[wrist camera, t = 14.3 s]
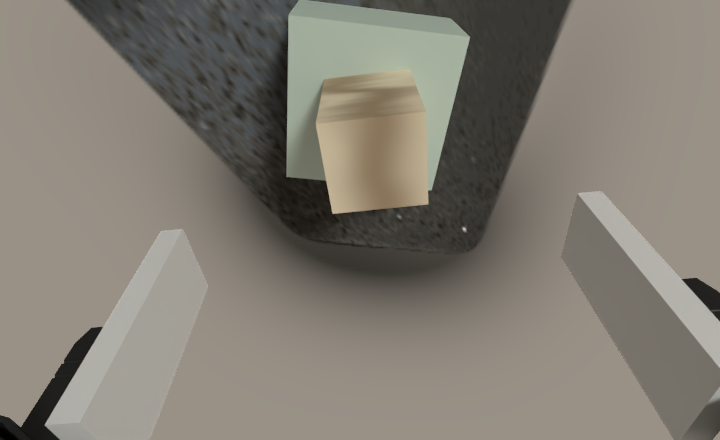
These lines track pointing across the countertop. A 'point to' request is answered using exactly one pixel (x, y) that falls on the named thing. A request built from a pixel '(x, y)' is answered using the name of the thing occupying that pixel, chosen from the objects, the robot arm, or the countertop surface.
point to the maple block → (373, 141)
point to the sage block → (367, 69)
